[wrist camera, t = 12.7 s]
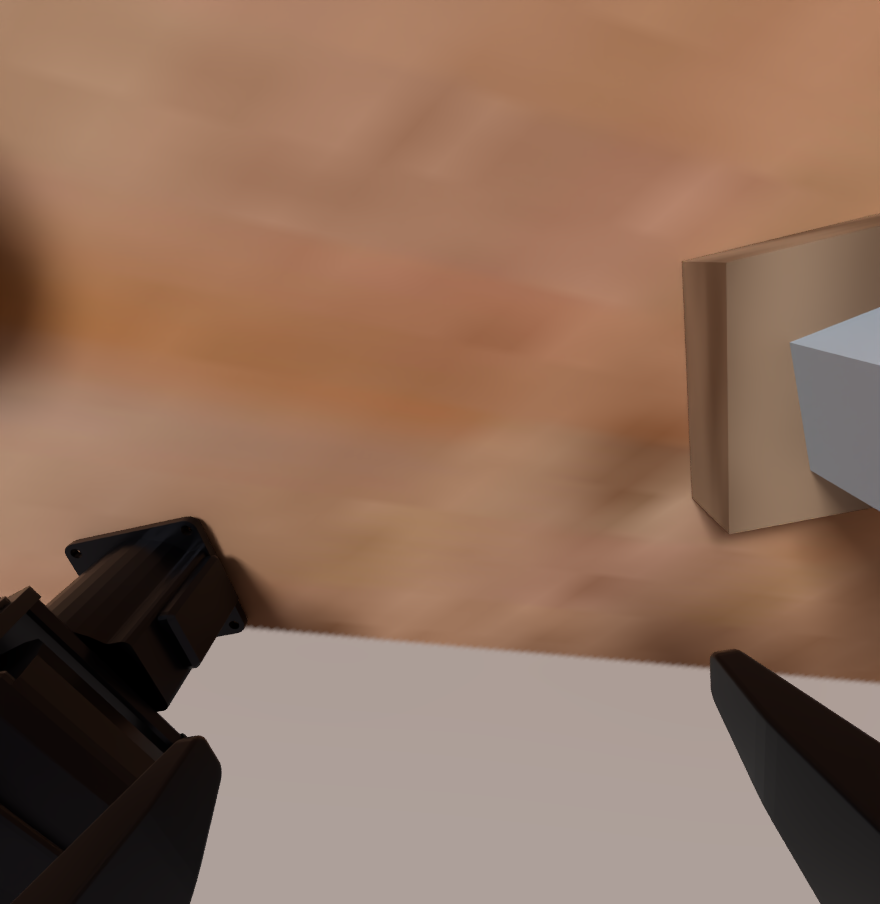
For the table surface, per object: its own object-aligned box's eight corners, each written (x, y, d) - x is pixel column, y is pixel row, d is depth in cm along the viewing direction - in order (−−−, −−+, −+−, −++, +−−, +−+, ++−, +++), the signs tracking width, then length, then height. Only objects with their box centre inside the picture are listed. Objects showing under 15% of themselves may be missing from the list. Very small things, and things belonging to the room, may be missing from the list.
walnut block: (692, 497, 21) (729, 534, 18) (682, 261, 18) (726, 262, 15) (934, 450, 20) (1012, 481, 17) (977, 189, 17) (1084, 176, 14)
